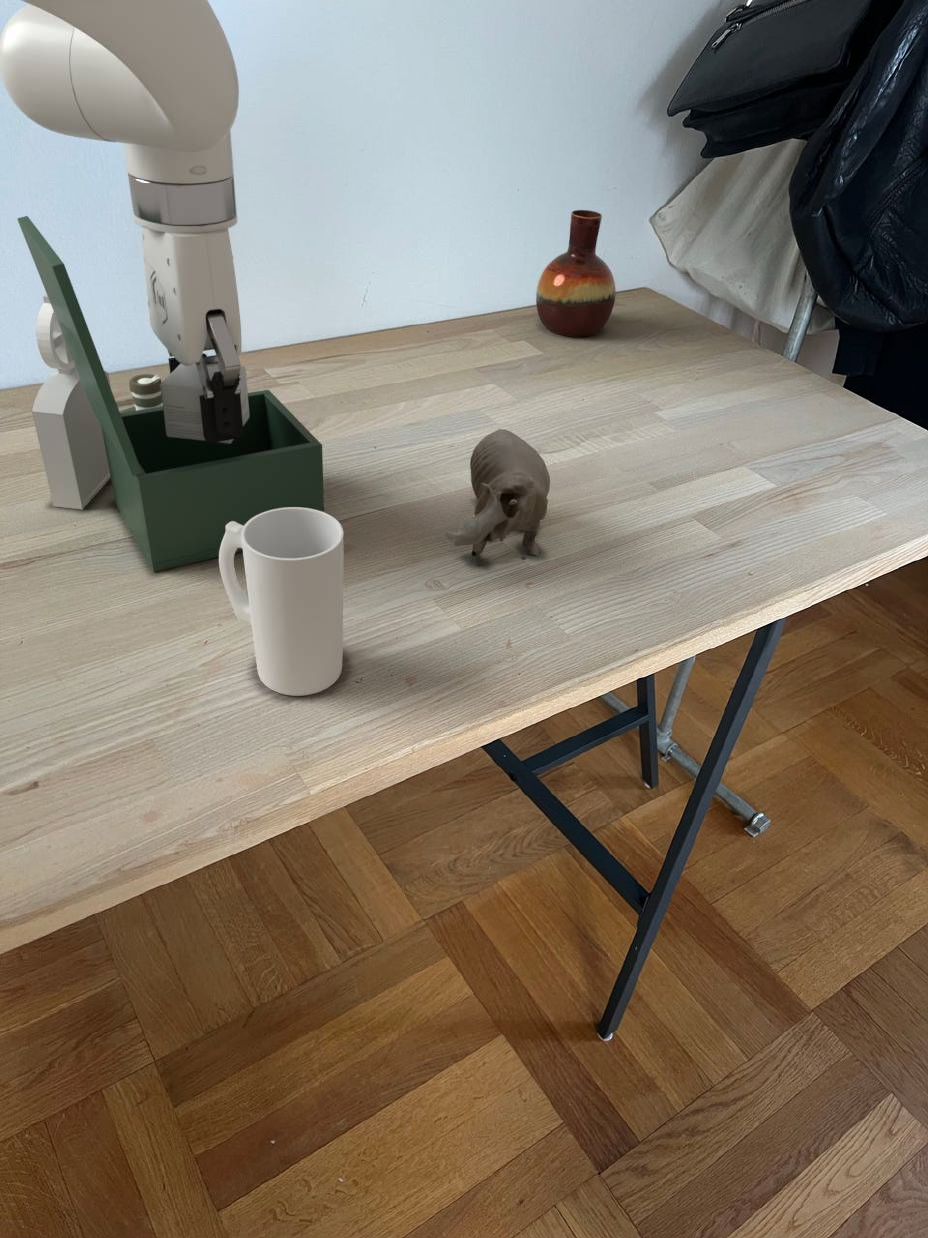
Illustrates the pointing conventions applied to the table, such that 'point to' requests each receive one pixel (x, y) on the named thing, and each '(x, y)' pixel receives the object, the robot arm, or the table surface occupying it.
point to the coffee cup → (145, 392)
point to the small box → (191, 402)
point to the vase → (577, 283)
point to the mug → (290, 595)
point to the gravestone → (67, 422)
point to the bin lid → (79, 341)
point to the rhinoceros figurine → (505, 493)
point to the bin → (211, 480)
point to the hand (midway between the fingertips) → (207, 417)
